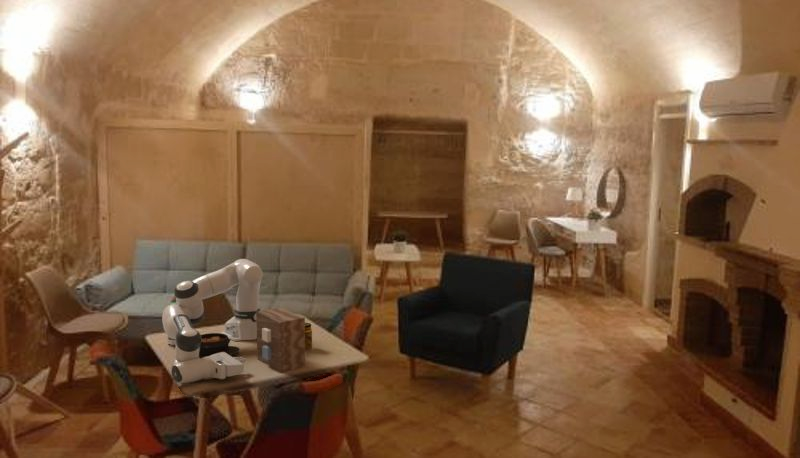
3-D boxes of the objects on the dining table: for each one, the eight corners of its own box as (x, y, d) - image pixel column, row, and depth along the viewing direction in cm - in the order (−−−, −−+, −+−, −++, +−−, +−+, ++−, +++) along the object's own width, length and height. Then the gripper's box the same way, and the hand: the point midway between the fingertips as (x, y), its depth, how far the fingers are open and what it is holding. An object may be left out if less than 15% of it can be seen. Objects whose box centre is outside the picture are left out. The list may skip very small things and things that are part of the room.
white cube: (267, 342, 271) (267, 331, 270) (262, 339, 275) (261, 328, 274) (277, 340, 274) (277, 329, 273) (272, 337, 278) (272, 326, 277)
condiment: (315, 349, 299) (315, 324, 297) (298, 352, 294) (298, 327, 292) (308, 345, 305) (308, 321, 303) (292, 348, 300) (292, 323, 298)
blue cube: (267, 360, 272) (267, 349, 271) (262, 357, 276) (262, 346, 275) (278, 357, 275) (277, 346, 275) (272, 354, 279) (272, 344, 278)
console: (280, 372, 267) (280, 322, 264) (257, 358, 284) (256, 311, 281) (305, 366, 275) (304, 317, 272) (280, 353, 291) (280, 307, 289)
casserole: (178, 362, 279) (177, 344, 277) (189, 349, 297) (188, 332, 296) (235, 361, 280) (234, 343, 279) (242, 348, 299) (242, 331, 298)
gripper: (203, 366, 267) (234, 359, 276) (223, 380, 251) (255, 373, 260) (203, 352, 266) (234, 346, 275) (223, 365, 250) (255, 358, 259)
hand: (244, 359), depth 267 cm, fingers closed
